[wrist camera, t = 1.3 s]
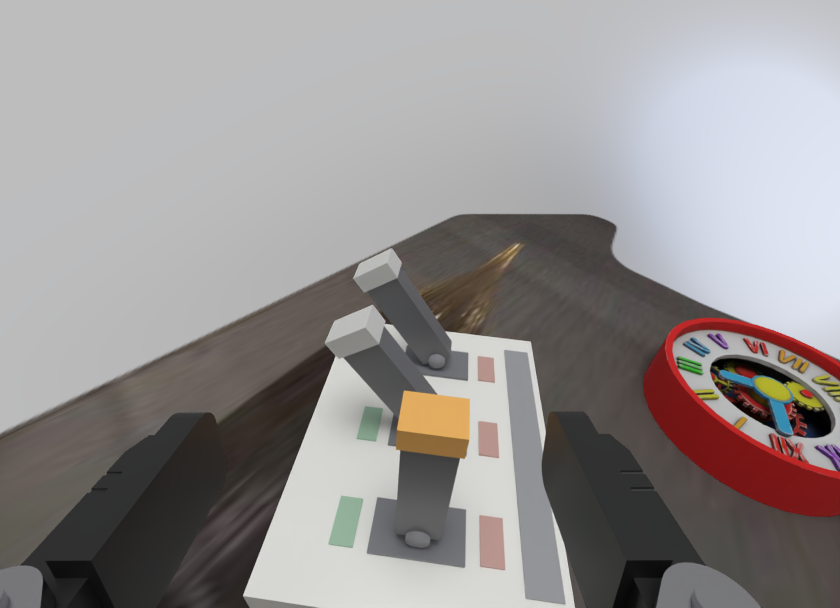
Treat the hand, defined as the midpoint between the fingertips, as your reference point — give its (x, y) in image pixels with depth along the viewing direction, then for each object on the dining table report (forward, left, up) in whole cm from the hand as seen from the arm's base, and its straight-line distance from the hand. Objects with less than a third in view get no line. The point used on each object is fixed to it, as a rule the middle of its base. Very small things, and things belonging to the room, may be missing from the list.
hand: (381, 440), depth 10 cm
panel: (-4, +14, -24) cm, 29 cm away
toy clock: (+24, +35, -25) cm, 49 cm away
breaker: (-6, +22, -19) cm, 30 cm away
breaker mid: (-4, +14, -19) cm, 24 cm away
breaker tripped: (-1, +7, -19) cm, 20 cm away
